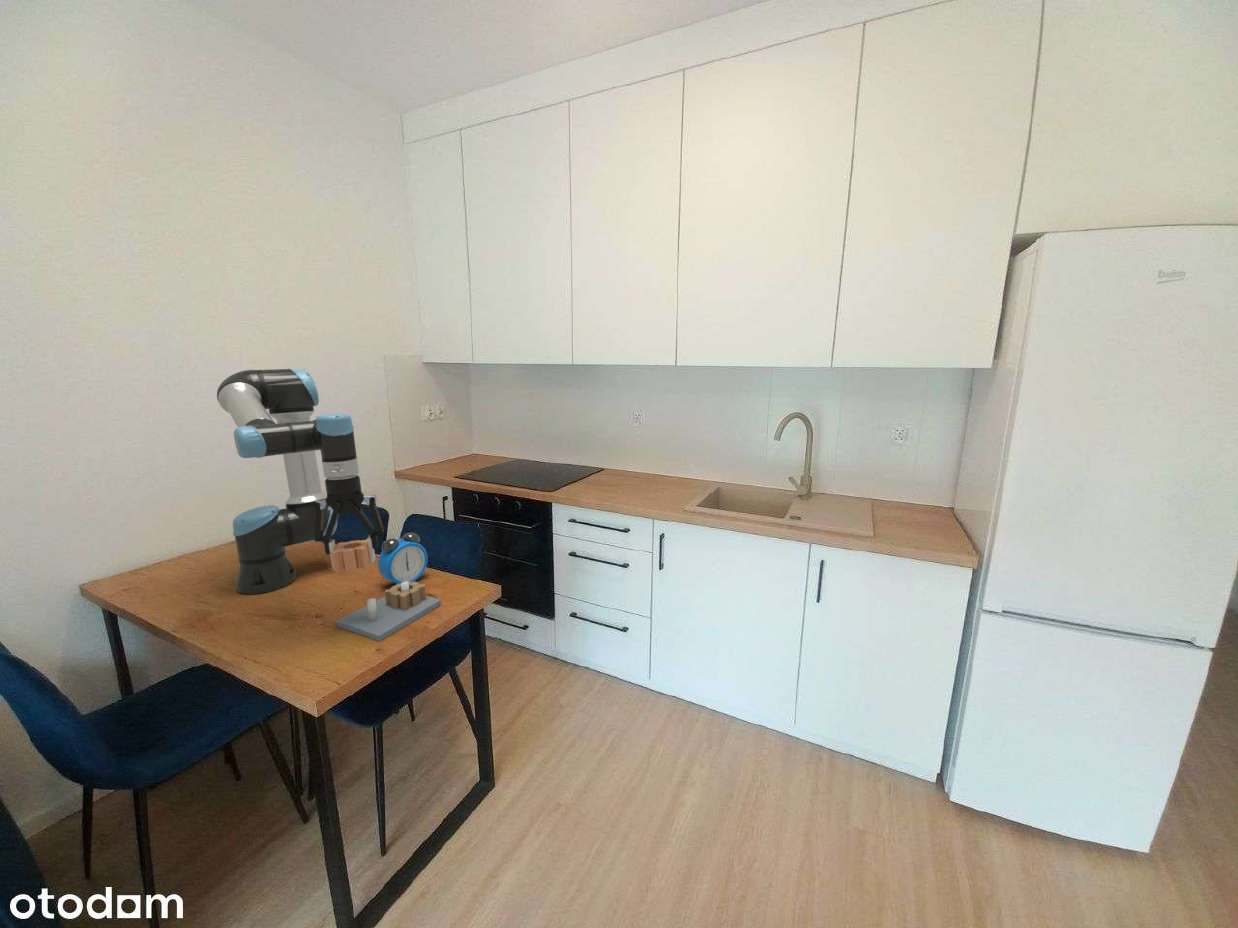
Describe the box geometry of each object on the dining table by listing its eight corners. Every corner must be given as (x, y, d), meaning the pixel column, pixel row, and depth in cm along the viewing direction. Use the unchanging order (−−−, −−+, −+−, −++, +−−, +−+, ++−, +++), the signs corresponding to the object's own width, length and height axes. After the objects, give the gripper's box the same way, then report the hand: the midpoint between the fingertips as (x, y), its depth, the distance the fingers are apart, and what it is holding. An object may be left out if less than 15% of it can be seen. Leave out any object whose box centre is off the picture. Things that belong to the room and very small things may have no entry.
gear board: (337, 626, 127) (333, 601, 125) (400, 593, 144) (398, 571, 143) (379, 641, 120) (376, 615, 118) (441, 604, 137) (439, 581, 136)
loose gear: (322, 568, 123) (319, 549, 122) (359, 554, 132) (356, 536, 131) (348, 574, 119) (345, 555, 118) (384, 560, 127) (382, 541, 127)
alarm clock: (390, 592, 145) (385, 544, 141) (379, 586, 148) (374, 540, 145) (430, 576, 155) (425, 531, 152) (419, 571, 159) (414, 527, 155)
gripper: (288, 483, 114) (303, 575, 119) (386, 475, 121) (396, 562, 125) (298, 477, 121) (312, 563, 126) (390, 469, 128) (399, 552, 132)
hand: (354, 563), depth 125 cm, fingers closed on loose gear, 8 cm apart
